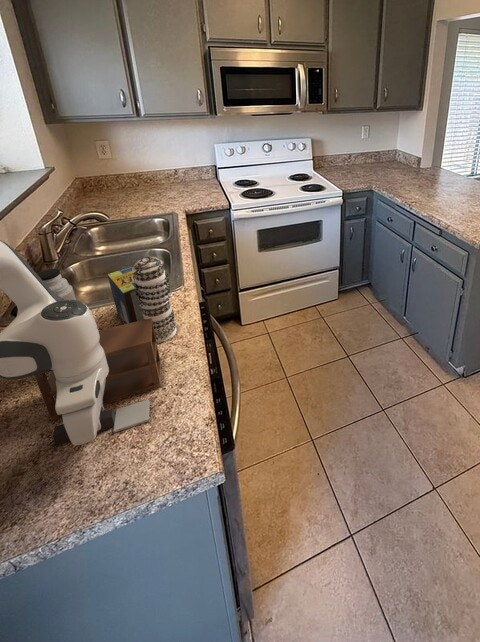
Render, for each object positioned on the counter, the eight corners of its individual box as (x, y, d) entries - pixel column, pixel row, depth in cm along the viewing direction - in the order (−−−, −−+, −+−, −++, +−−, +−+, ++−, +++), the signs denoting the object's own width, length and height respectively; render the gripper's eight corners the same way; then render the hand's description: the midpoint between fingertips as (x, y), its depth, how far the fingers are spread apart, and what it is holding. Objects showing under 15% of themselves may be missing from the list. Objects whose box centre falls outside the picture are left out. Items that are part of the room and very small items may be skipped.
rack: (51, 420, 81) (33, 372, 76) (61, 388, 90) (45, 343, 85) (160, 386, 90) (150, 341, 85) (160, 360, 98) (151, 317, 94)
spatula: (53, 453, 74) (49, 443, 73) (60, 429, 79) (56, 419, 78) (149, 421, 81) (146, 411, 80) (149, 400, 86) (147, 391, 85)
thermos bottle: (90, 367, 96) (63, 276, 87) (54, 377, 93) (22, 284, 84) (94, 348, 103) (69, 262, 94) (61, 357, 100) (32, 269, 90)
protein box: (149, 301, 125) (141, 262, 119) (167, 321, 114) (159, 279, 109) (116, 315, 118) (106, 273, 113) (133, 337, 108) (122, 292, 102)
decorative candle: (182, 334, 108) (168, 261, 100) (149, 348, 103) (132, 272, 94) (173, 320, 115) (160, 250, 107) (142, 331, 110) (125, 259, 101)
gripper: (75, 345, 82) (89, 391, 87) (52, 416, 64) (71, 469, 69) (106, 337, 84) (118, 382, 89) (93, 404, 67) (109, 456, 71)
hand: (98, 421), depth 79 cm, fingers closed on spatula, 2 cm apart
